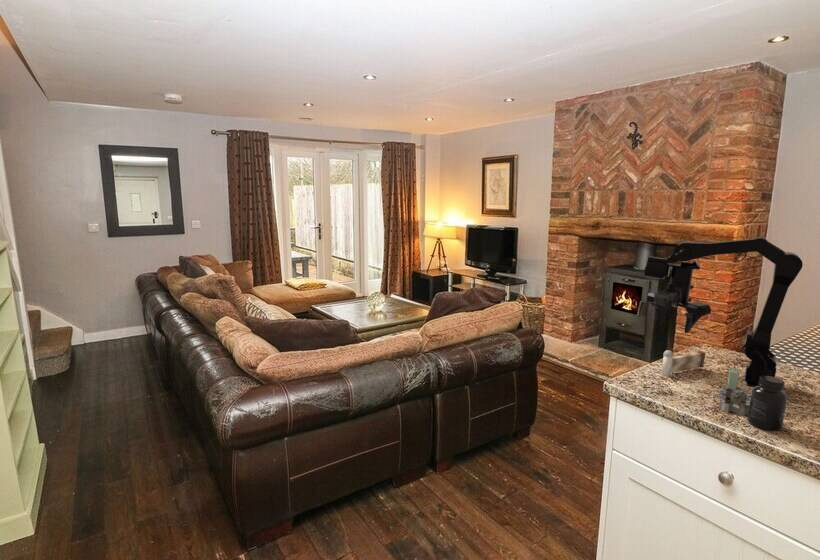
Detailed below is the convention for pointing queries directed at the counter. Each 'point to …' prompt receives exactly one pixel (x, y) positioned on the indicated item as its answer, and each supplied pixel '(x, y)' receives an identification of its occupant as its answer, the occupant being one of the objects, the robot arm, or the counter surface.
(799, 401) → the counter surface
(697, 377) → the counter surface
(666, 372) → the hinge post
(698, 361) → the gate
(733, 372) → the latch post
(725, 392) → the egg carton
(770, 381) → the supplement bottle
